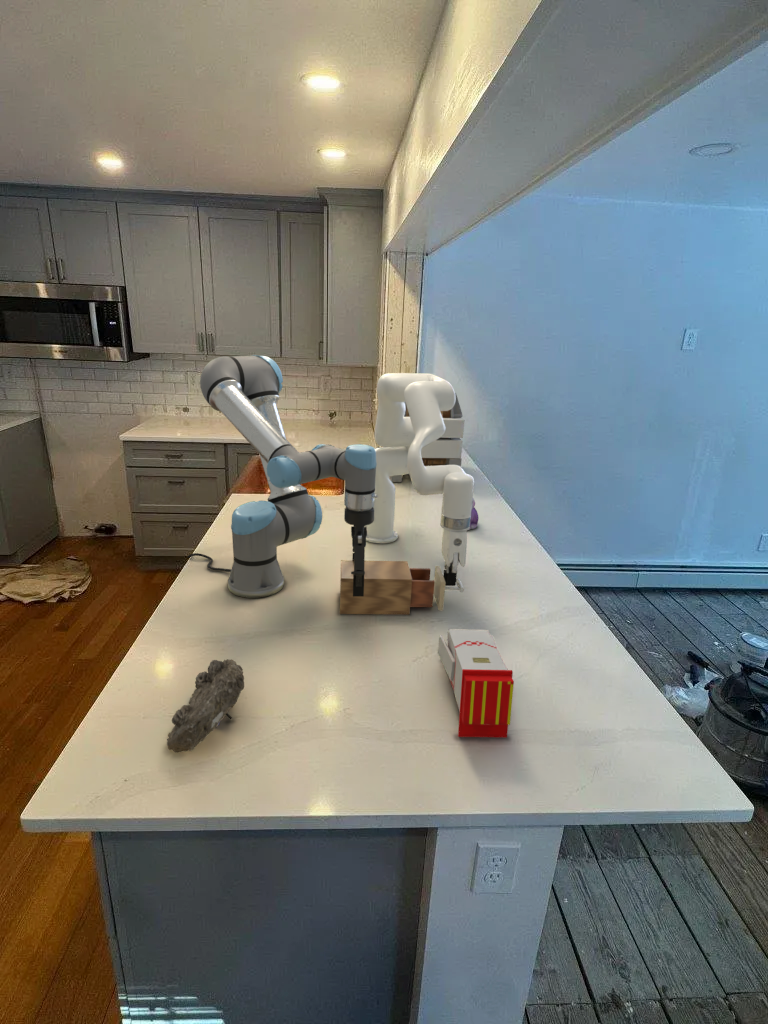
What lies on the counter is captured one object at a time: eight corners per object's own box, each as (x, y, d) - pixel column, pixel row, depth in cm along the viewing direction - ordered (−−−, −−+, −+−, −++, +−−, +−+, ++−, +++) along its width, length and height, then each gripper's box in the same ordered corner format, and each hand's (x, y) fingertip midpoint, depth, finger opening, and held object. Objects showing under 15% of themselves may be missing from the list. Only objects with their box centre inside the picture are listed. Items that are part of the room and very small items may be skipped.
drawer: (456, 593, 158) (459, 566, 155) (463, 610, 149) (466, 582, 146) (377, 591, 156) (378, 564, 153) (379, 609, 147) (380, 581, 144)
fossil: (192, 660, 117) (244, 628, 112) (224, 691, 120) (276, 661, 115) (142, 746, 98) (202, 712, 93) (182, 779, 101) (242, 748, 96)
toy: (488, 613, 130) (523, 677, 101) (484, 667, 133) (517, 744, 104) (435, 612, 130) (455, 676, 101) (432, 666, 133) (451, 743, 103)
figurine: (464, 532, 203) (468, 492, 198) (448, 523, 212) (451, 484, 206) (485, 529, 207) (489, 490, 202) (469, 519, 216) (472, 482, 211)
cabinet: (405, 594, 158) (407, 561, 154) (409, 614, 148) (412, 579, 144) (340, 593, 156) (341, 560, 153) (339, 613, 146) (340, 578, 143)
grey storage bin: (382, 463, 289) (386, 382, 275) (445, 464, 293) (451, 384, 279) (390, 482, 257) (394, 392, 243) (460, 483, 261) (468, 394, 247)
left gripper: (377, 523, 132) (374, 607, 139) (372, 492, 153) (369, 566, 161) (344, 523, 131) (343, 607, 138) (344, 492, 153) (343, 566, 160)
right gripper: (476, 532, 139) (468, 598, 145) (463, 510, 153) (457, 571, 159) (446, 531, 138) (439, 598, 145) (436, 510, 152) (431, 571, 159)
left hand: (357, 585), depth 150 cm, fingers closed on cabinet, 11 cm apart
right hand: (449, 584), depth 152 cm, fingers closed
